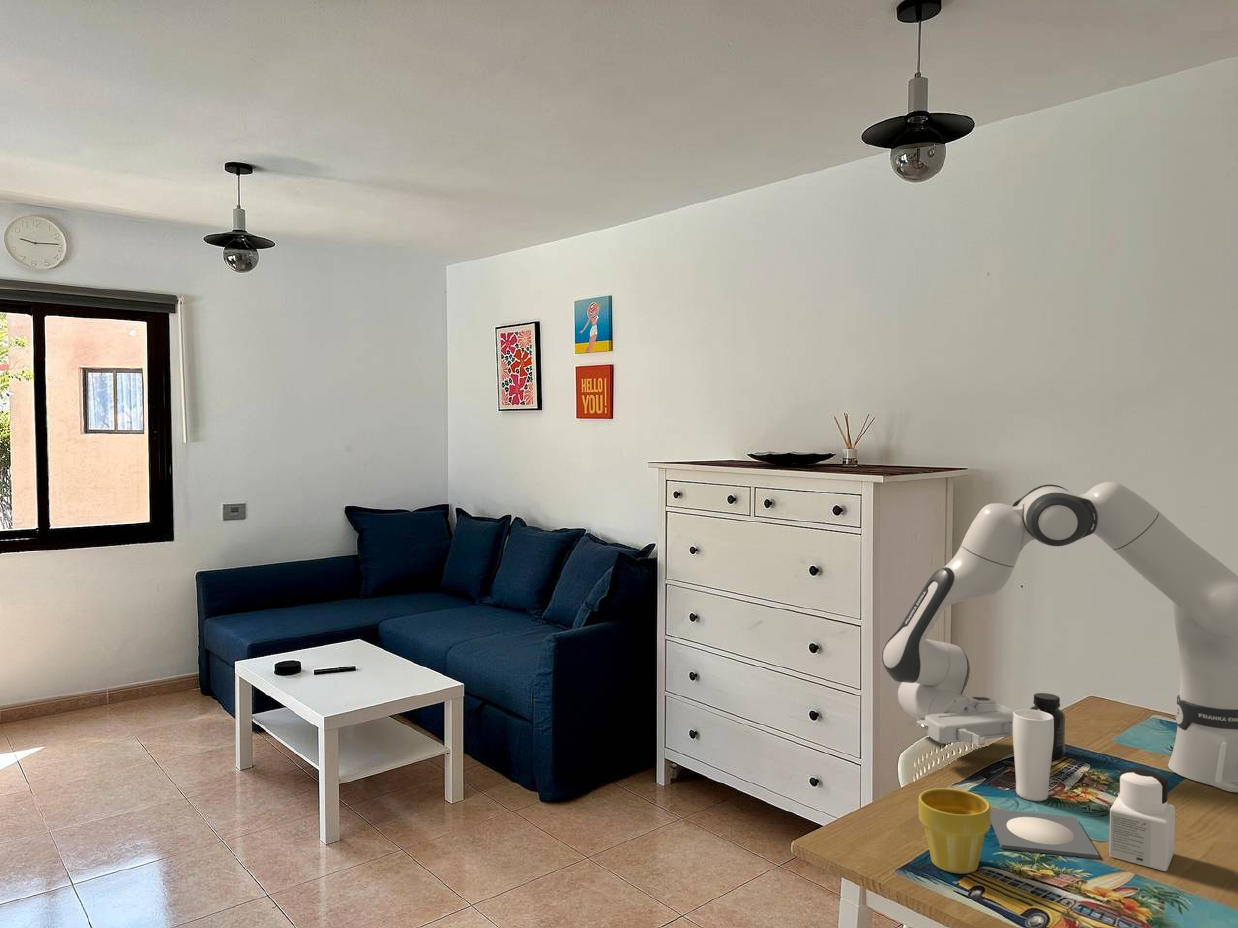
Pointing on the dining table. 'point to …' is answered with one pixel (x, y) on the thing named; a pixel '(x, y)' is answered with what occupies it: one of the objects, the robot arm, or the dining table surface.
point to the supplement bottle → (1051, 706)
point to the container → (1142, 820)
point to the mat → (1041, 833)
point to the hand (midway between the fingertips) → (1002, 738)
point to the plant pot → (954, 827)
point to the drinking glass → (1032, 752)
